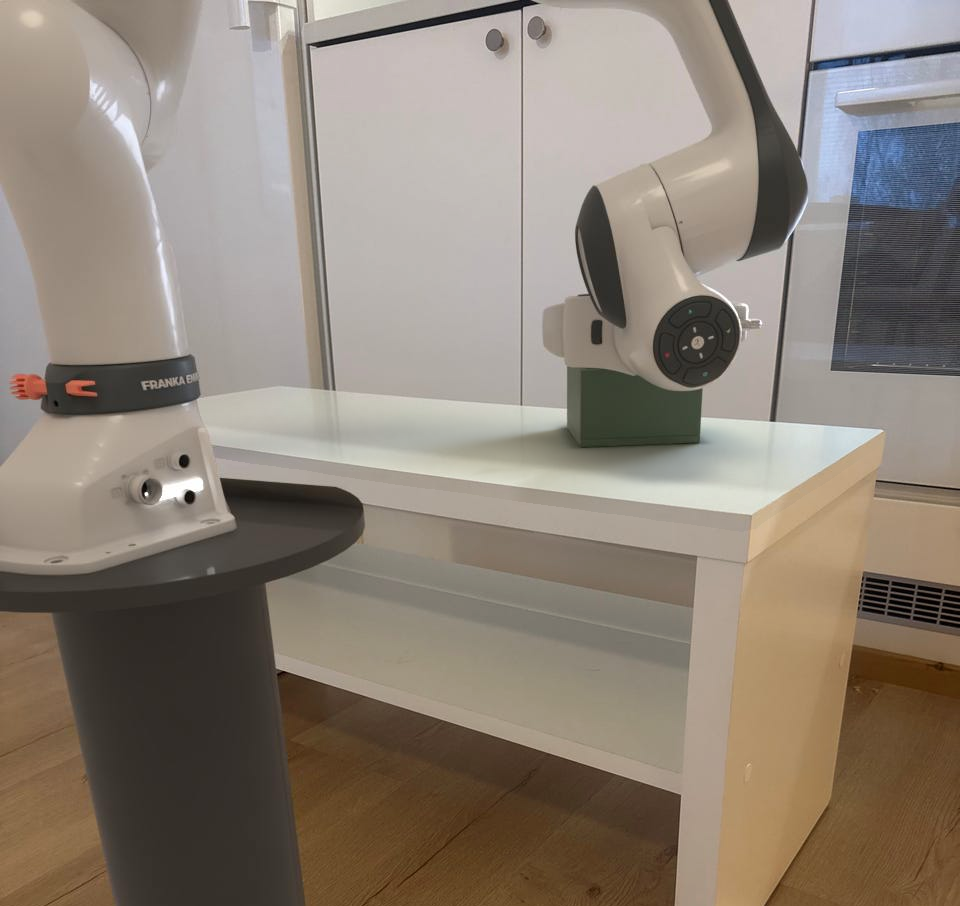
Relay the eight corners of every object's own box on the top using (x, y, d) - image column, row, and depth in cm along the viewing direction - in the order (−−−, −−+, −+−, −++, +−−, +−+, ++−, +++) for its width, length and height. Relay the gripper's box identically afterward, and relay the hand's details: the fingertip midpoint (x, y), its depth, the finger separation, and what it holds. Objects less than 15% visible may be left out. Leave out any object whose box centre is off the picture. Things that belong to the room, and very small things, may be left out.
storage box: (699, 442, 99) (704, 365, 96) (580, 447, 99) (580, 370, 96) (673, 423, 111) (676, 354, 108) (566, 427, 111) (567, 358, 108)
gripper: (770, 289, 87) (729, 285, 100) (549, 297, 87) (537, 293, 100) (765, 359, 90) (726, 347, 102) (550, 368, 89) (538, 354, 102)
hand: (631, 320), depth 101 cm, fingers closed on supplement bottle, 5 cm apart
